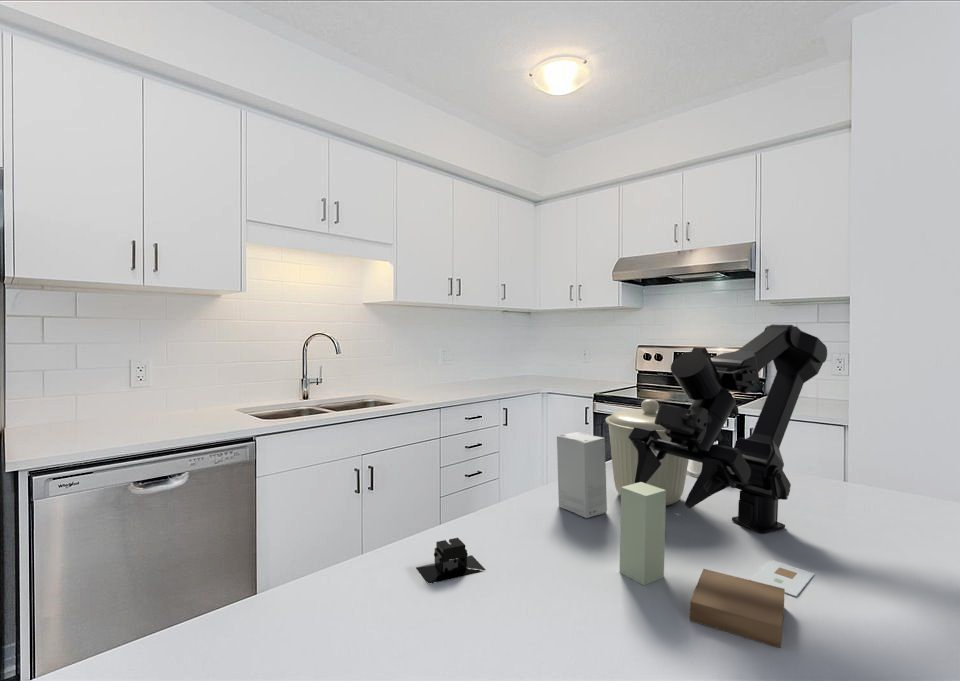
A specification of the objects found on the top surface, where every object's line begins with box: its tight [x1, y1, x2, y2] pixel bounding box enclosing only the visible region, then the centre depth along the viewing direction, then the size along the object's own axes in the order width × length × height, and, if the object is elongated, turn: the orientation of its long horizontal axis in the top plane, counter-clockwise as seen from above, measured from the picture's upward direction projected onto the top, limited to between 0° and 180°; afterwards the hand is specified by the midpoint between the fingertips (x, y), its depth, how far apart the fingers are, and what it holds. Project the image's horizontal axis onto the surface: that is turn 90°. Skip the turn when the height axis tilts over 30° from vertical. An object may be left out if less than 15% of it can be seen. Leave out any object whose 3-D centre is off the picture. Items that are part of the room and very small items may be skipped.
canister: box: [605, 398, 690, 506], centre depth 109 cm, size 18×18×21 cm
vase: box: [686, 459, 702, 478], centre depth 126 cm, size 8×8×10 cm
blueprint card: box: [749, 559, 815, 598], centre depth 76 cm, size 9×6×1 cm, turn 134°
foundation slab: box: [689, 568, 786, 649], centre depth 67 cm, size 10×10×2 cm
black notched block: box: [415, 537, 487, 585], centre depth 78 cm, size 12×7×5 cm, turn 115°
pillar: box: [619, 482, 667, 586], centre depth 77 cm, size 4×4×13 cm
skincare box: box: [556, 431, 608, 519], centre depth 102 cm, size 8×6×15 cm
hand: (660, 497), depth 79 cm, fingers open, 9 cm apart
